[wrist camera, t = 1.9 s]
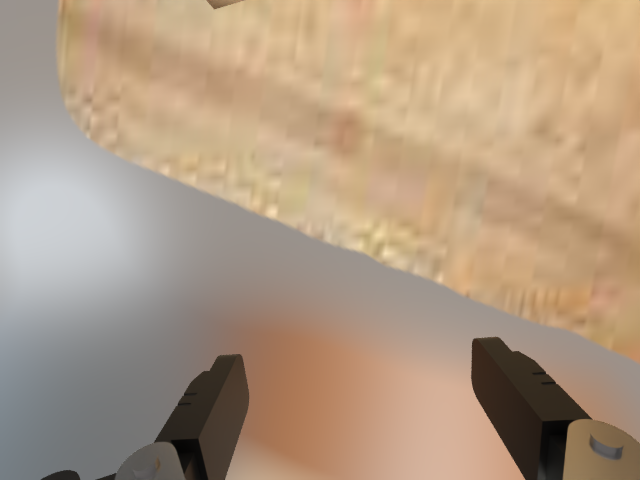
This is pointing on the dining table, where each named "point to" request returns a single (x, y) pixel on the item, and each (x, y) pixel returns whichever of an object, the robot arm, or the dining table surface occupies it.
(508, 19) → the dining table surface
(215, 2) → the walnut stand
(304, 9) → the dining table surface
